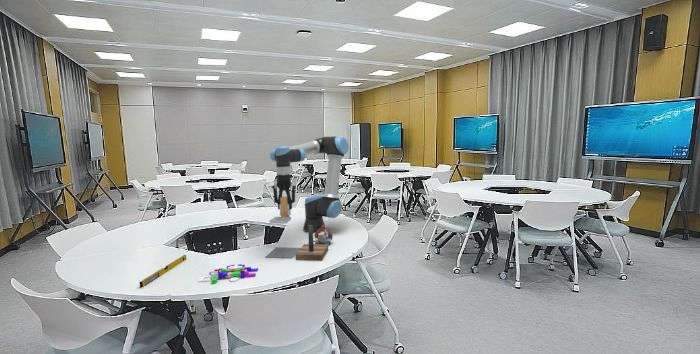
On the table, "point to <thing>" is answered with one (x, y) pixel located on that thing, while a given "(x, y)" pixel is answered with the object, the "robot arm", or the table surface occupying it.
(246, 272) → the building block set
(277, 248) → the rubber mat
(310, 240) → the wooden peg stand
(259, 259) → the table surface
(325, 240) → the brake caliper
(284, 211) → the square frame with handle
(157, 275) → the spirit level
